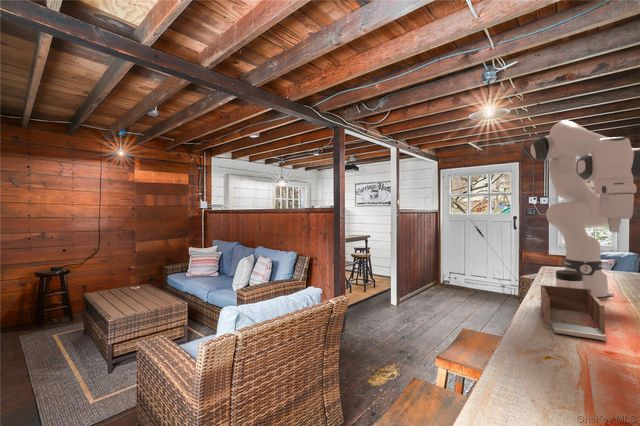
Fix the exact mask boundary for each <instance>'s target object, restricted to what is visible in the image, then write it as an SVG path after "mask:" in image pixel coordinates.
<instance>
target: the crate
mask: <svg viewBox="0 0 640 426" xmlns="http://www.w3.org/2000/svg"><path fill="white" fill-rule="evenodd" d="M540 307H541V309H542V314H543V318H544V321H545V324H546V325H551V310H550V309H554V308H555V309H554V310H562V309H564V310H565V311H570V312H571V311H573V312H580V313H587V314H588V316H589V317H590V319H591V320H592V322H593V323H594V325H595V327H597V328H598V329H600V330H601V331H602V332H603V333H606V321H605V319H606V314H605V304H604V303H602V301H601V300H600V299H599V297H596V296H595V295H594V294H593V293H592V291H591V290H590V289H579V288H568V287H556V285H555V286H554V285H553V286H552V285H542V284H540Z"/></svg>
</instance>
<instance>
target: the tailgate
mask: <svg viewBox="0 0 640 426" xmlns="http://www.w3.org/2000/svg"><path fill="white" fill-rule="evenodd" d="M550 325H551V327H552V330H553V333H555V334H561V335H567V336H568V335H569V336H574V337H582V338H587V339H595V340H601V341H607V336H606V334H604V332H602V331H601V330H600V329H598V328H596V327H590V326H583V325H575V324H567V323H560V322H554V321H553V322H552V321H550Z"/></svg>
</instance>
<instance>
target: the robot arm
mask: <svg viewBox="0 0 640 426" xmlns="http://www.w3.org/2000/svg"><path fill="white" fill-rule="evenodd" d="M530 154H531V156H532V157H533V159H534V160H536V161H538V162H539V161H546V160H549V162H548V172H549V176H550V177H549V178H550V179H551V182H552V183H551V184H552V186H553V187H554V191H555V193H556V195H557V196H558V197H560V198H561V199H563V200H566V201H562V202H557V203H553V204H551V205H549V207H548V208H547V210H546V213H545V216H546V219H547V221H548V223H549V224H550V225H551V226H553V227H554V228H556V229H557V230H558V231H559V232H560V234H561V235H562V237H563V239H564V246H565V258H564V266H565V268H564V269H563V270H571V271H578V272H581V273H583V289H590V290H591V291H592V293H593V294H594V295H595V296H596V297H597V298H605V297H613V296H614V295H615V294H614V292H613V291H611V290H610V289H609V284H608V275H607V274H606V273H605V272H603V271H602V270H603V263H602V262H603V261H602V260H601V244H600V242H599V240H598V239H597V238H595V237H593V236H591V235H589V234H588V233H587V231H586V228H601V227H606V226H608V231H609V232H610V233H620V226H621V222H622V220H627V219H628V220H629V219H632V217H633V213H634V201H635V195H634V194H636V193H637V185H636V184H635V183H634V180H639V179H640V147H637V148H635V147H632V145H631V140H630V139H629V138H628V137H626V136H617V137H616V136H615V137H614V136H613V137H611V136H610V137H609V136H607V135H602V134H600V133H597V132H593V131H591V130H588V129H587V128H585V127H583V126H582V125H580V124H578V123H576V122H574V121H571V120H562V121H561V120H560V121H559V122H557V123H555V124H554V125H553V126H552V127H551V128H550V130H549V135H544V136H543V135H542V136H541V137H539V138H537V139H535V140H533V141H532V142H531V145H530ZM577 156H578V157H579V158H578V159H576V157H577ZM587 181H593V184H594V185H593V186H594V187H593V188H594V190H593V189H592V188H591V187H590V185H589V184H588V182H587Z"/></svg>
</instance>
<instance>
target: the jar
mask: <svg viewBox="0 0 640 426" xmlns="http://www.w3.org/2000/svg"><path fill="white" fill-rule="evenodd" d="M555 286H556V287H568V288H579V289H583V273H581V272H578V271H571V270H564V269H559V270H556V271H555Z"/></svg>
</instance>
